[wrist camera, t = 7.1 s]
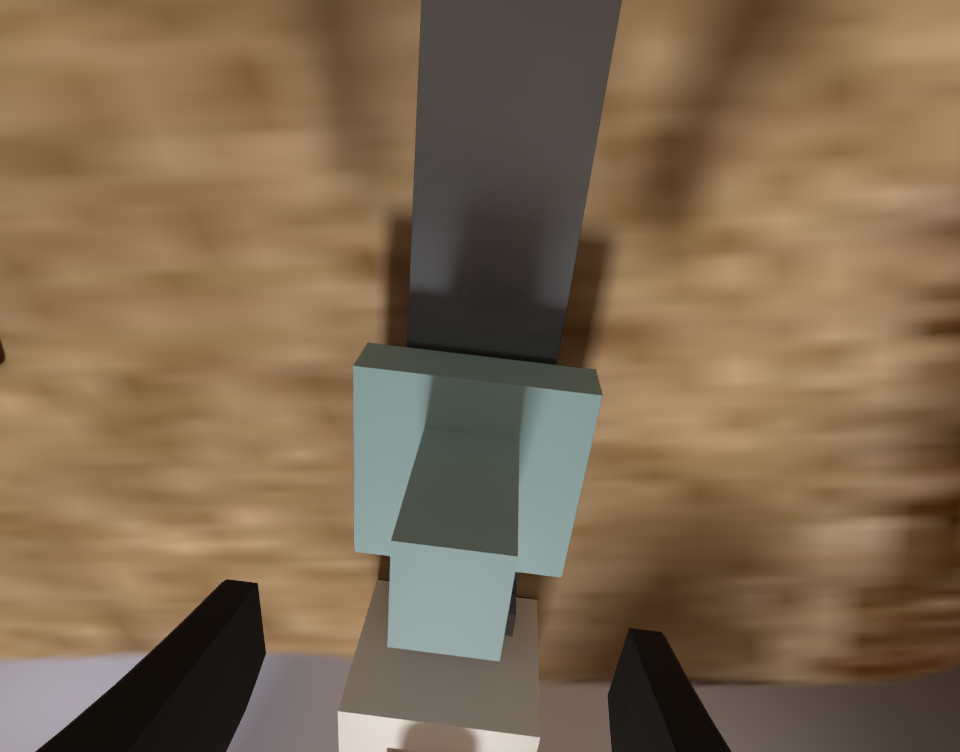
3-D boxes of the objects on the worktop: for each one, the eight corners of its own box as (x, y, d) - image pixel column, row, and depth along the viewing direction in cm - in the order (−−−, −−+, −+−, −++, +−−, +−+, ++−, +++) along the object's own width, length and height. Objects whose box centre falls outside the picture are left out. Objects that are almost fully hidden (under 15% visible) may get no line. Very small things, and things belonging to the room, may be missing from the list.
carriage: (366, 518, 17) (306, 681, 13) (367, 342, 15) (292, 463, 10) (558, 542, 17) (571, 715, 12) (595, 369, 15) (631, 505, 10)
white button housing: (375, 682, 24) (341, 818, 19) (377, 579, 21) (337, 711, 16) (516, 700, 24) (514, 841, 19) (536, 600, 21) (540, 737, 16)
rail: (404, 563, 20) (390, 621, 18) (465, -671, 9) (446, -934, 6) (513, 577, 20) (512, 636, 18) (724, -650, 9) (795, -909, 6)
